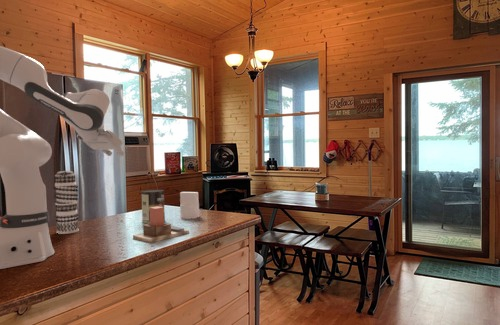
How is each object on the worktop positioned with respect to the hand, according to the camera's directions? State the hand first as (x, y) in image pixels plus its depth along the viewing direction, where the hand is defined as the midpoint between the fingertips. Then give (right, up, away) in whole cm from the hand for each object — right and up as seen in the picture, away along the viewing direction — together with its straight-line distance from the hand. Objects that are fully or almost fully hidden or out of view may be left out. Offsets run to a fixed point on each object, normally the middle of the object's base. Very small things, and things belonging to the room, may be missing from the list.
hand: (116, 154), depth 151 cm
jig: (+20, -31, -8) cm, 38 cm away
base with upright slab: (+25, -30, +30) cm, 49 cm away
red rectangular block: (+19, -30, -9) cm, 37 cm away
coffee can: (+10, -30, +22) cm, 39 cm away
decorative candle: (-21, -32, +3) cm, 38 cm away
